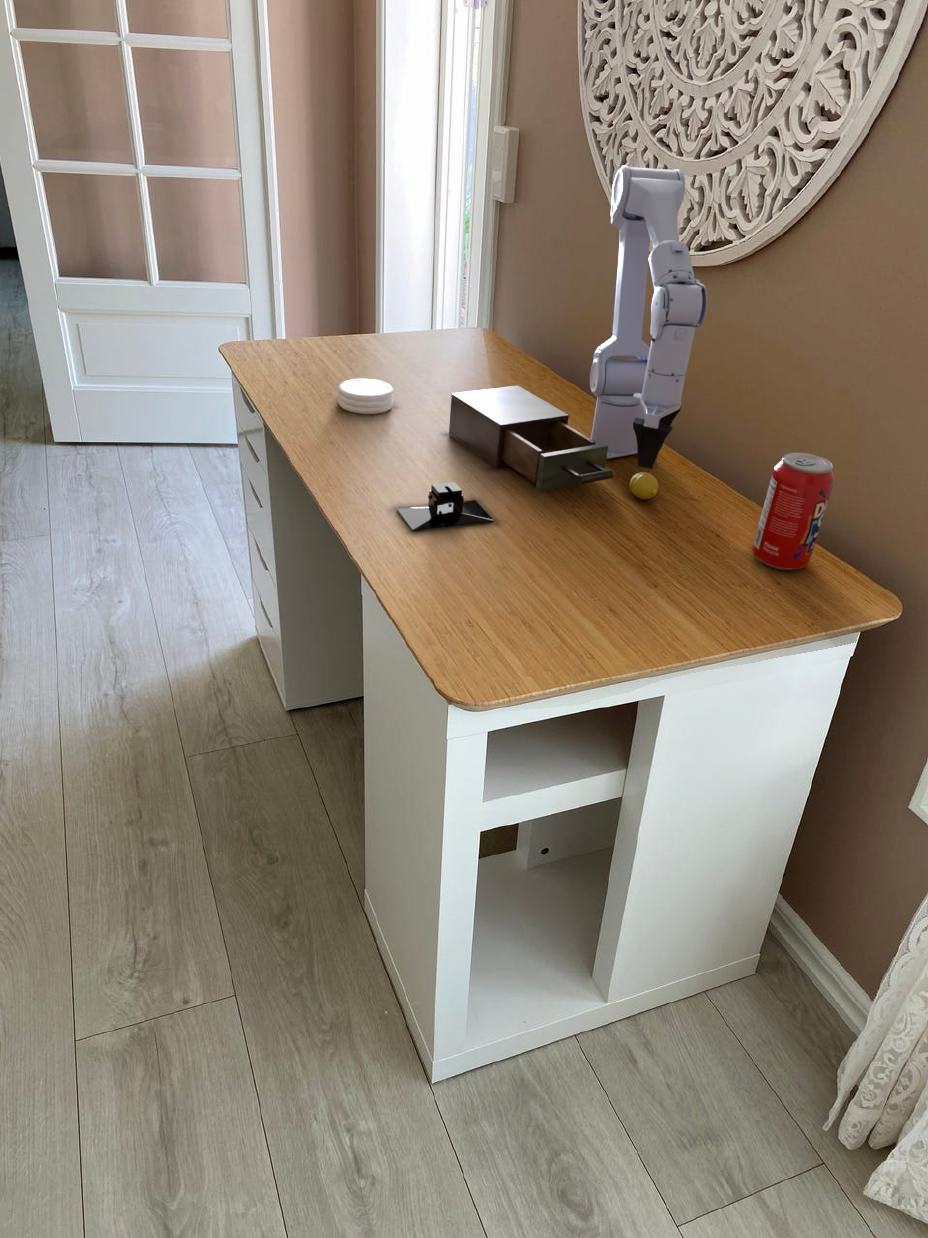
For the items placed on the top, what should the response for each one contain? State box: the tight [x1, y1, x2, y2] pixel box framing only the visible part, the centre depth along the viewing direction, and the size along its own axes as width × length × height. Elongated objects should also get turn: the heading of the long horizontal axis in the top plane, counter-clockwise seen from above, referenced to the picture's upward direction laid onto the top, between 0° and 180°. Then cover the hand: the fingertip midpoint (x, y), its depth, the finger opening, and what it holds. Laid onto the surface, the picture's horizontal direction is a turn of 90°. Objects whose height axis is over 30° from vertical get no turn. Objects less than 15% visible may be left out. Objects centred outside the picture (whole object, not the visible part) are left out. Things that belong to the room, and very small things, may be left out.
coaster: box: [337, 378, 394, 415], centre depth 171 cm, size 10×10×4 cm
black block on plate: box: [396, 481, 494, 533], centre depth 135 cm, size 12×7×5 cm, turn 112°
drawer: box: [500, 420, 615, 492], centre depth 148 cm, size 20×12×6 cm, turn 31°
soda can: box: [752, 451, 835, 571], centre depth 128 cm, size 8×8×15 cm
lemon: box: [629, 471, 659, 501], centre depth 146 cm, size 6×4×4 cm
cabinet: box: [448, 384, 570, 469], centre depth 159 cm, size 15×13×7 cm
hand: (649, 457), depth 143 cm, fingers open, 7 cm apart
